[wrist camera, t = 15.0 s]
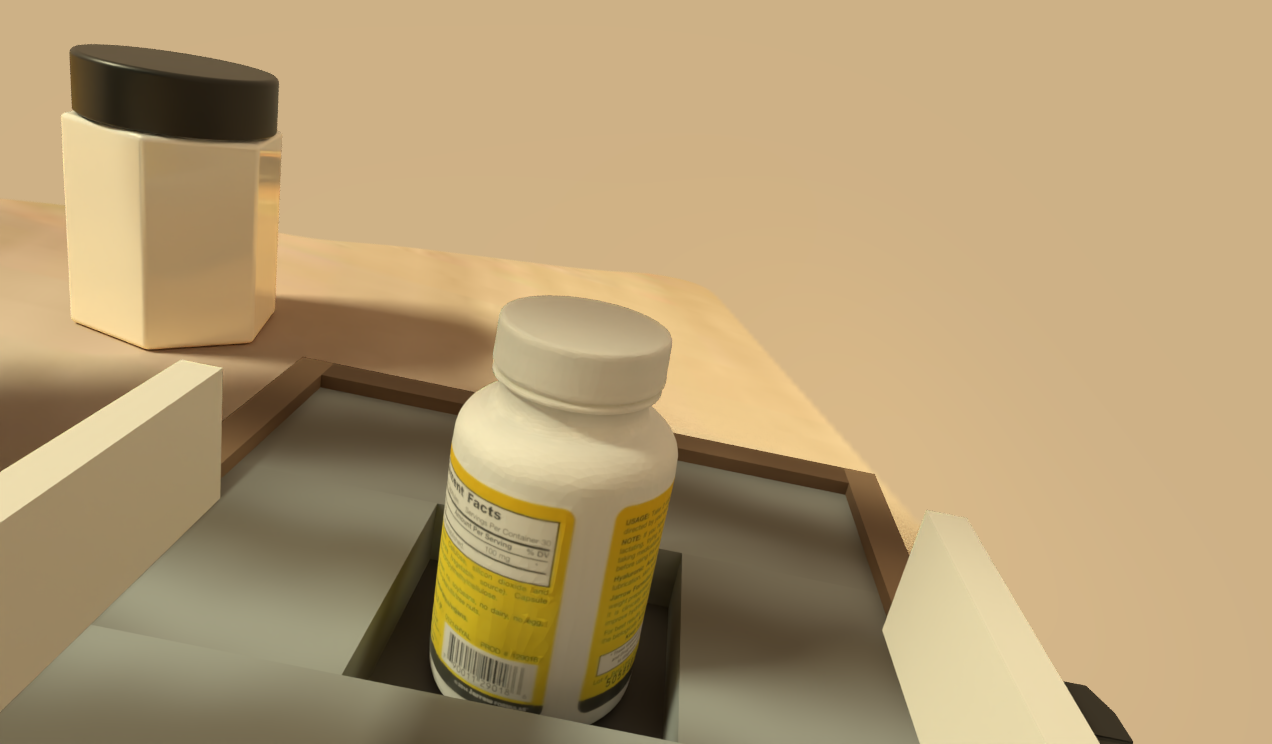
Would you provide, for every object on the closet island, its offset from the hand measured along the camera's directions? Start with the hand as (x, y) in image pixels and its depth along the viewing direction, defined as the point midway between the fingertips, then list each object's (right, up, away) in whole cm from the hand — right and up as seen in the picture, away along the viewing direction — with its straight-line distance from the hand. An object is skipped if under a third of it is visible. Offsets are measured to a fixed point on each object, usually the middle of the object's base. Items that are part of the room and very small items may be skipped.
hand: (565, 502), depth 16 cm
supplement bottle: (-2, -6, +7) cm, 9 cm away
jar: (-21, +5, +26) cm, 34 cm away
